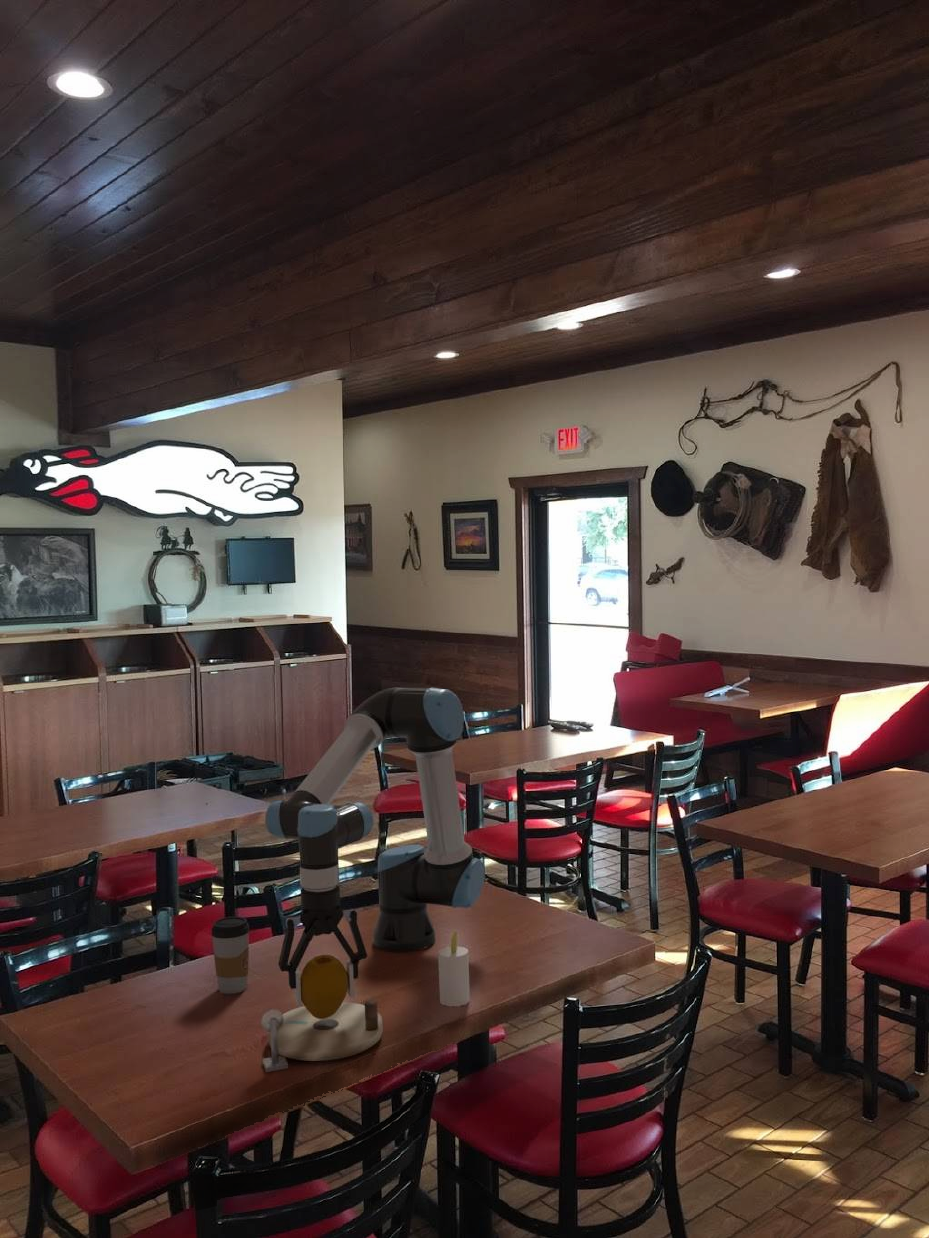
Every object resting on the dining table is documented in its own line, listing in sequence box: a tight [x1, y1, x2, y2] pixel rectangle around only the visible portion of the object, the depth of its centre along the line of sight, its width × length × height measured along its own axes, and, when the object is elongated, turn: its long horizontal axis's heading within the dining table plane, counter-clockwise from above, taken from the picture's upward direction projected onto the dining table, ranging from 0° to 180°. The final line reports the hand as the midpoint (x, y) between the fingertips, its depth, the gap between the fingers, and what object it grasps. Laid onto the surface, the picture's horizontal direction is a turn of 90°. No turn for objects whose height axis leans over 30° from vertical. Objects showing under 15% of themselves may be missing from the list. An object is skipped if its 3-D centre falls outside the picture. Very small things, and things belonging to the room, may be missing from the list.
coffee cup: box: [211, 916, 250, 995], centre depth 234 cm, size 8×8×15 cm
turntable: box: [268, 999, 384, 1062], centre depth 206 cm, size 22×22×7 cm
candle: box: [437, 930, 471, 1008], centre depth 223 cm, size 6×6×15 cm
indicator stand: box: [261, 1008, 289, 1073], centre depth 196 cm, size 4×4×10 cm
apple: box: [300, 954, 348, 1019], centre depth 206 cm, size 10×10×12 cm
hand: (324, 999), depth 206 cm, fingers closed on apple, 10 cm apart
